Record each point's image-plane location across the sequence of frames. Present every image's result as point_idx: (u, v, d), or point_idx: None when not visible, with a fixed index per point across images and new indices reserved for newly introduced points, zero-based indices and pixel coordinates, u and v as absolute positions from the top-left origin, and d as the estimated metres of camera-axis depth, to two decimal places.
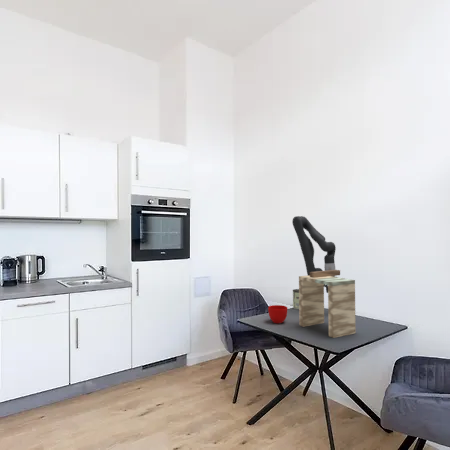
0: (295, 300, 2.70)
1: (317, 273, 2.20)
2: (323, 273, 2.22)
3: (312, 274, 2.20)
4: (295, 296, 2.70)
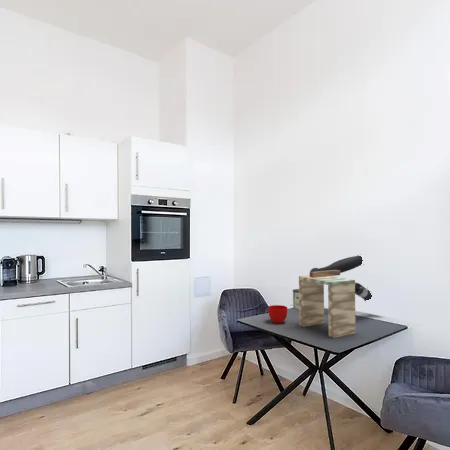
0: (295, 300, 2.70)
1: (317, 273, 2.20)
2: (323, 273, 2.22)
3: (312, 274, 2.20)
4: (295, 296, 2.70)
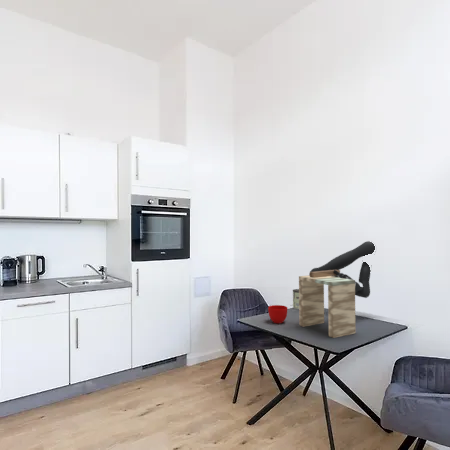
0: (295, 300, 2.70)
1: (317, 273, 2.20)
2: (323, 273, 2.22)
3: (312, 274, 2.20)
4: (295, 296, 2.70)
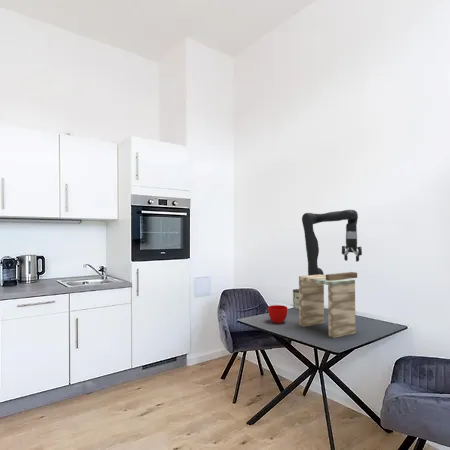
0: (295, 300, 2.70)
1: (334, 276, 2.08)
2: (340, 276, 2.10)
3: (328, 277, 2.07)
4: (295, 296, 2.70)
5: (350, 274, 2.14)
